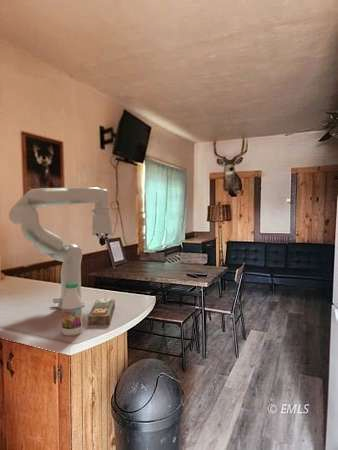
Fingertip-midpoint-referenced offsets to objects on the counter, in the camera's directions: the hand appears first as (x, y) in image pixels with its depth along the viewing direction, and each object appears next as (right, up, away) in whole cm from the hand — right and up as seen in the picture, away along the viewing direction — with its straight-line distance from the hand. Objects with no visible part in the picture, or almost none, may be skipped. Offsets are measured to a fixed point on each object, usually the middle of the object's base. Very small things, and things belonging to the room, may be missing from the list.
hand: (102, 245), depth 172 cm
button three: (+6, -31, -35) cm, 47 cm away
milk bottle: (-2, -32, -47) cm, 57 cm away
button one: (+5, -30, -20) cm, 37 cm away
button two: (+6, -29, -28) cm, 40 cm away
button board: (+6, -31, -27) cm, 42 cm away
